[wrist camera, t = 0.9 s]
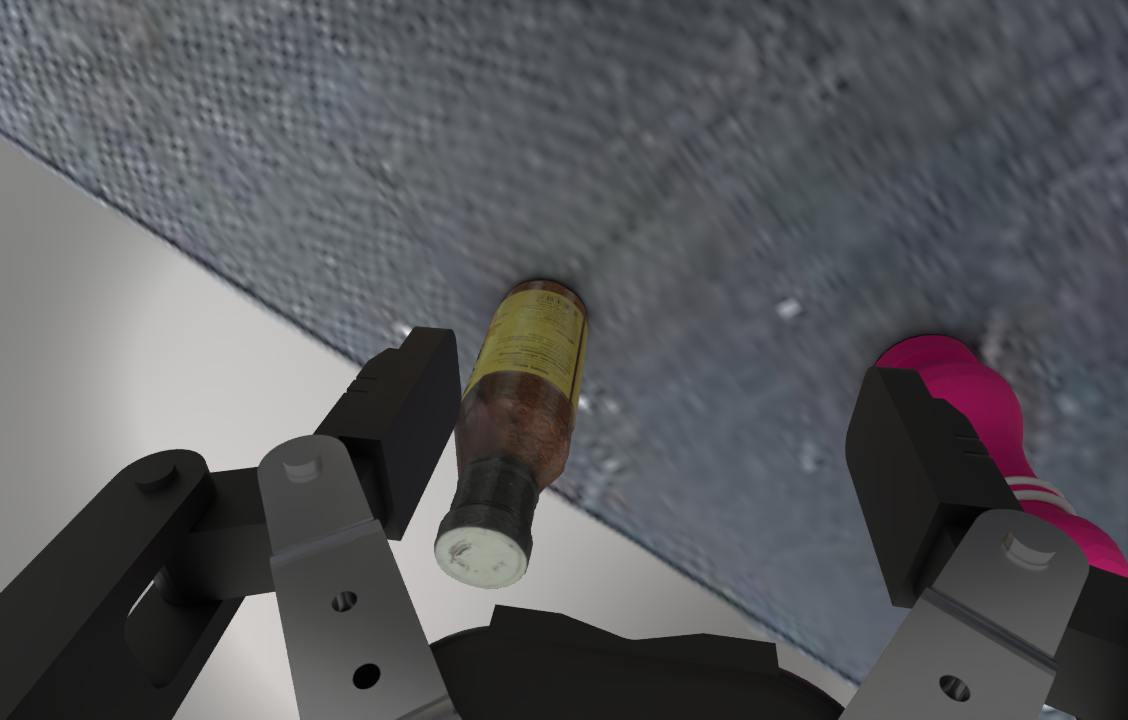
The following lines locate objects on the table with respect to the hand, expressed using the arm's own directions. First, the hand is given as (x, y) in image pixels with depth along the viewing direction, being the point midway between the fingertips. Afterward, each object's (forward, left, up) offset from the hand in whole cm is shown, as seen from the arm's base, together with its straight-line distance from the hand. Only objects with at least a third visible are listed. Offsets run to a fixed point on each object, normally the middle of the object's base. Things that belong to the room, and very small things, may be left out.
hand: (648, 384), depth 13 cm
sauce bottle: (+12, +9, -27) cm, 31 cm away
